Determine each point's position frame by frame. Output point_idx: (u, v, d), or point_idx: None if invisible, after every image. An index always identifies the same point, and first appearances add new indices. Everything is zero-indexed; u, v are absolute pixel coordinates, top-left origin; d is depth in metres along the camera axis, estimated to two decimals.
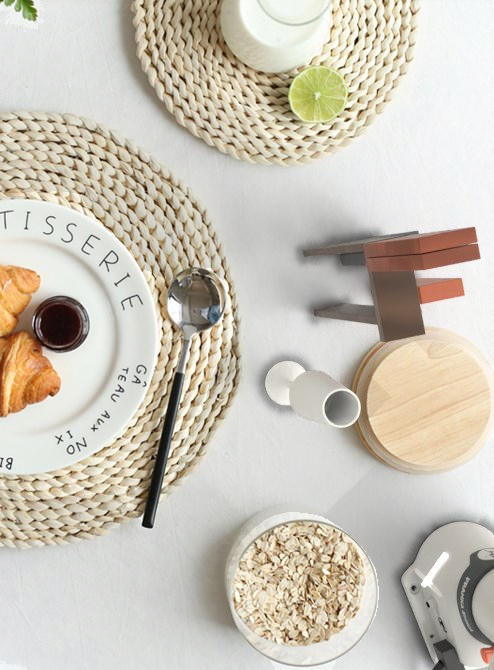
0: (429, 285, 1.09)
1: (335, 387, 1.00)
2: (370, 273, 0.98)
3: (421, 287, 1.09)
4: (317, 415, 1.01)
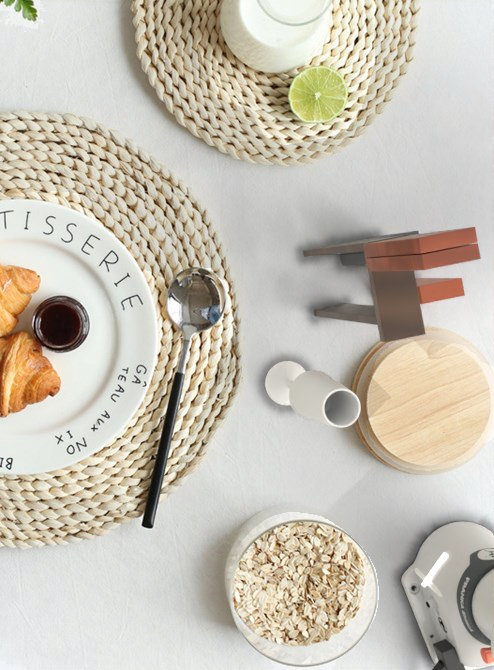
0: (429, 285, 1.09)
1: (335, 387, 1.00)
2: (370, 273, 0.98)
3: (421, 287, 1.09)
4: (317, 415, 1.01)
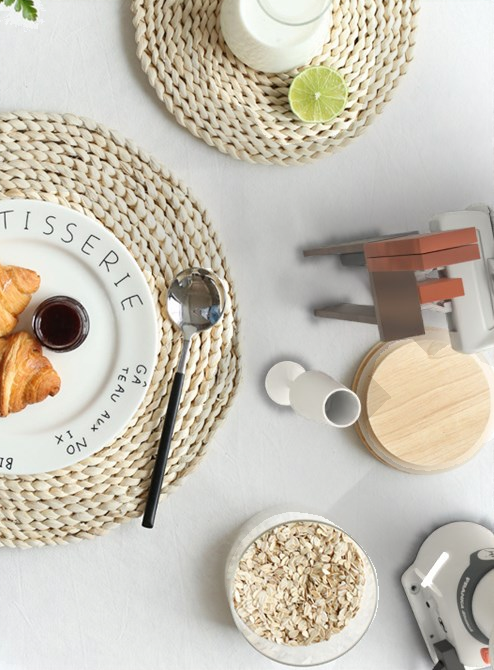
0: (429, 285, 1.09)
1: (335, 387, 1.00)
2: (370, 273, 0.98)
3: (421, 287, 1.09)
4: (317, 415, 1.01)
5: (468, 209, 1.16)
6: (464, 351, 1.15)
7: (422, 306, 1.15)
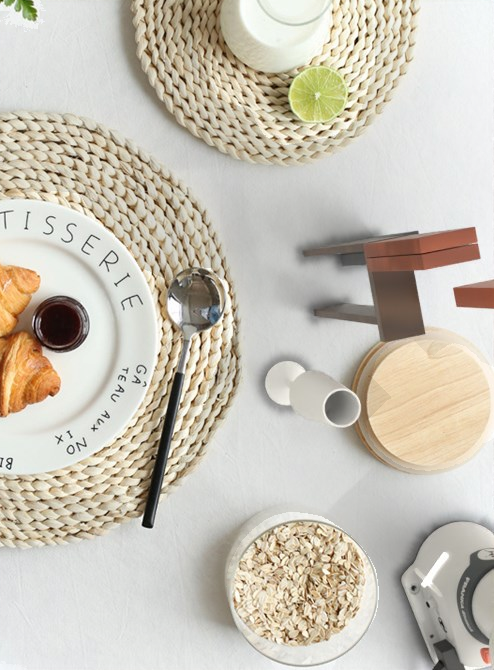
0: None
1: (335, 387, 1.00)
2: (370, 273, 0.98)
3: None
4: (317, 415, 1.01)
5: None
6: None
7: None
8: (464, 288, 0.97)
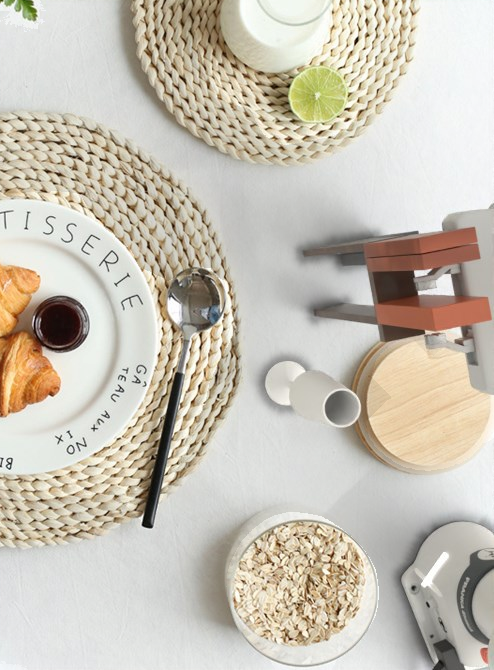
0: (445, 306, 0.82)
1: (335, 387, 1.00)
2: (370, 273, 0.98)
3: (434, 309, 0.82)
4: (317, 415, 1.01)
5: (493, 207, 0.90)
6: (488, 391, 0.89)
7: (435, 345, 0.89)
8: (384, 305, 0.94)
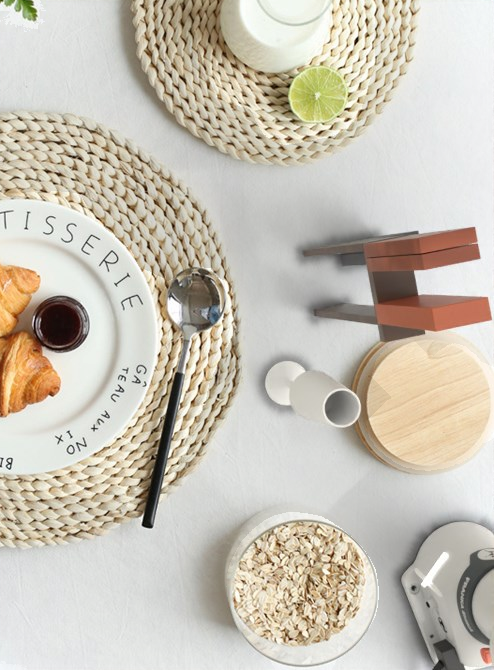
0: (445, 306, 0.82)
1: (335, 387, 1.00)
2: (370, 273, 0.98)
3: (434, 309, 0.82)
4: (317, 415, 1.01)
5: None
6: None
7: None
8: (384, 305, 0.94)
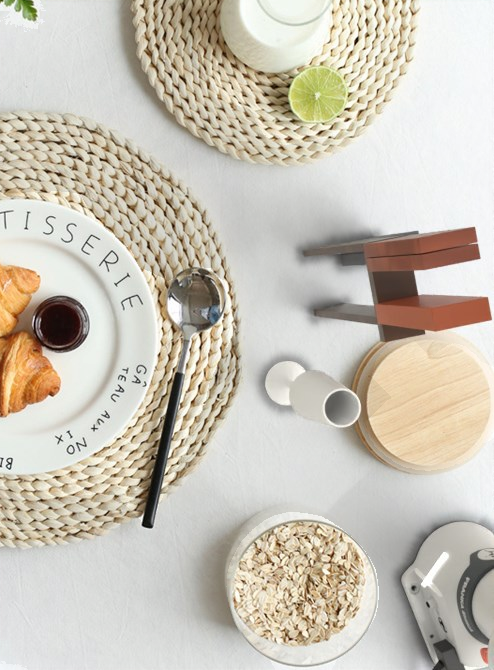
0: (445, 306, 0.82)
1: (335, 387, 1.00)
2: (370, 273, 0.98)
3: (434, 309, 0.82)
4: (317, 415, 1.01)
5: None
6: None
7: None
8: (384, 305, 0.94)
